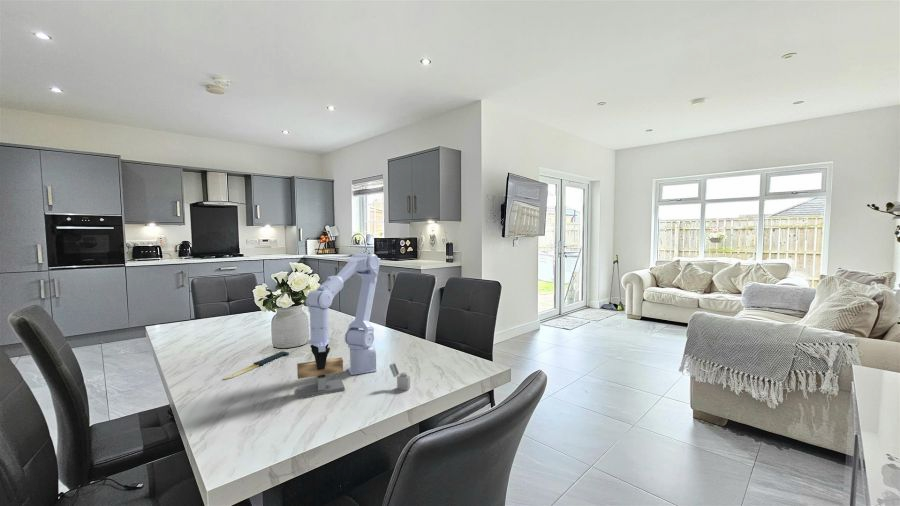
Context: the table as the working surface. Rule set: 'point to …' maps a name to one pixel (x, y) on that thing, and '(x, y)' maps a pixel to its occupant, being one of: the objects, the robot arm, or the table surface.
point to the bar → (311, 370)
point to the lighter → (400, 378)
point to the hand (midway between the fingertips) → (320, 367)
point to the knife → (257, 364)
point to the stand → (320, 387)
